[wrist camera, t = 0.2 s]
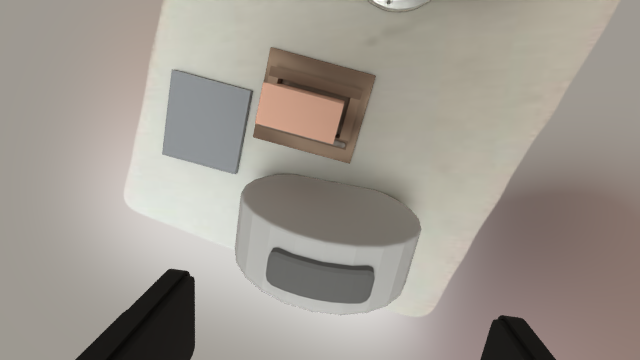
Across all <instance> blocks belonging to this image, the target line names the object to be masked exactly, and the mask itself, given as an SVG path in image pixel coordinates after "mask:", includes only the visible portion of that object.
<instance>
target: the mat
mask: <svg viewBox="0 0 640 360" xmlns="http://www.w3.org/2000/svg"><path fill="white" fill-rule="evenodd" d="M252 93H253V91H251V90H247V89H243V88H240V87H236V86H232V85H229V84H225V83H221V82H218V81H214V80H210V79H207V78H203V77H199V76H196V75H192V74H188V73H185V72H181V71H177V70H172V73H171V81H170V90H169V99H168V108H167V117H166V125H165V134H164V143H163V152H162V154H163V155H167V156H170V157H174V158H177V159H181V160H185V161H188V162H192V163H196V164H199V165H203V166H207V167H210V168H214V169H218V170H221V171H225V172H229V173H232V174H236V173H237V172H238V167H239V161H240V156H241V151H242V146H243V140H244V135H245V130H246V125H247V119H248V114H249V109H250V103H251V98H252Z"/></svg>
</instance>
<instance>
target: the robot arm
mask: <svg viewBox="0 0 640 360" xmlns="http://www.w3.org/2000/svg"><path fill="white" fill-rule="evenodd" d="M368 1H369V2H371V3H372V4H374V5H375V6H377V7H379V8H381V9H384V10H388V11H395V12H402V11H409V10H413V9H416V8H419V7H420V6H422V5H424V4H426V3H428V2H429V1H430V0H368ZM387 1H390V5H387V3H386V2H387ZM194 282H195V281H194V277H192V276H190V274H189V272H188V271H183V270H176V269H169V270H167V271H166V272H165V273H164V274H163V275H162V276H161V277H160V278H159V279H158V280H157V282H155V283H154V284H153V285H152V286H151V287H150V288H149V289H148V290H147V291H146V292H145V293H144V294H143V295H142V296H141V297H140V298H139V299H138V300H137V301H136V302H135V303H134V304H133V305H132V306H131V307H130V308H129V309H128V310H126V311H125V312H124V313H122V314H121V315H120V316H119V317H118V318H117V319H116V320H115V321H114V322H113V323H112V324H111V325H110V326H109V327H108V328H107V329H106V330H105V331H104V332H103V333H102V334H101V335H100V336H99V337H98V338H97V339H96V340H95V341H94V342H93V343H92V344H91V345H90V346H89V347H88V348H87V349H86V350H85V351H84V352H83V353H82V354H81V355H80V356H79V357H78V358H77V359H76V360H190V359H191V357H192V355H193V351H194V347H195V286H194V285H195V284H194ZM481 360H556V359H555V358H554V357H553V355H552V354H551V353H550V352H549V350H548V349H547V348H546V346H545V345H544V344H543V343H542V341H541V340H540V339H539V338H538V336H537V335H536V334H535V333H534V331H533V330H532V329H531V328H530V326H529V325H528V324H527V323H526V321H525V320H524V319H522V318H518V317H510V316H503V315H502V316H500V317H498V319H497V320H493V322H492V324H491V327H490V330H489V334H488V337H487V341H486V344H485V347H484V350H483V353H482V357H481Z"/></svg>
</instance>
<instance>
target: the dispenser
mask: <svg viewBox="0 0 640 360" xmlns="http://www.w3.org/2000/svg"><path fill="white" fill-rule="evenodd" d="M375 77H376V76H375V75H371V74H368V73H364V72H360V71H357V70H353V69H349V68H346V67H342V66H338V65H334V64H331V63H327V62H323V61H320V60H316V59H312V58H309V57H305V56H301V55H298V54H294V53H290V52H287V51H283V50H279V49H275V48H272V47H271V48H270V53H269V58H268V63H267V68H266V74H265V79H264V82H266V83H275V84H284V85H289V86H293V87H296V88H300V89H304V90H307V91H311V92H315V93H318V94H322V95H326V96H329V97H333V98H337V99H340V100H344V101H345V102H344V106H343V110H342V114H341V117H340V121H339V125H338V128H337V132H336V135H335V139H334V143H333V144H330V143H326V142H322V141H319V140H315V139H311V138H308V137H304V136H300V135H297V134H293V133H289V132H286V131H282V130H278V129H275V128H271V127H267V126H264V125H260V124H255V129H254V134H253V137H254V138H258V139H262V140H265V141H269V142H273V143H276V144H280V145H284V146H287V147H291V148H295V149H298V150H302V151H306V152H309V153H313V154H316V155H320V156H324V157H327V158H331V159H335V160H338V161H342V162H346V163H349V164H350V161H351V158H352V154H353V151H354V147H355V144H356V141H357V137H358V134H359V131H360V127H361V124H362V120H363V117H364V114H365V110H366V107H367V104H368V100H369V97H370V93H371V90H372V87H373V83H374V80H375Z"/></svg>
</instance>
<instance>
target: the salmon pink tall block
mask: <svg viewBox="0 0 640 360" xmlns="http://www.w3.org/2000/svg"><path fill="white" fill-rule="evenodd" d="M344 102H345V101H344V100H340V99H337V98H333V97H329V96H326V95H322V94H318V93H315V92H311V91H307V90H304V89H300V88H296V87H293V86H289V85H284V84H275V83H266V82H263V86H262V91H261V96H260V101H259V106H258V111H257V116H256V121H255V123H256V124H260V125H264V126H267V127H271V128H275V129H278V130H282V131H286V132H289V133H293V134H297V135H300V136H304V137H308V138H311V139H315V140H319V141H322V142H326V143H330V144H333V143H334V139H335V135H336V132H337V128H338V125H339V121H340V117H341V114H342V110H343V106H344Z"/></svg>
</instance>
